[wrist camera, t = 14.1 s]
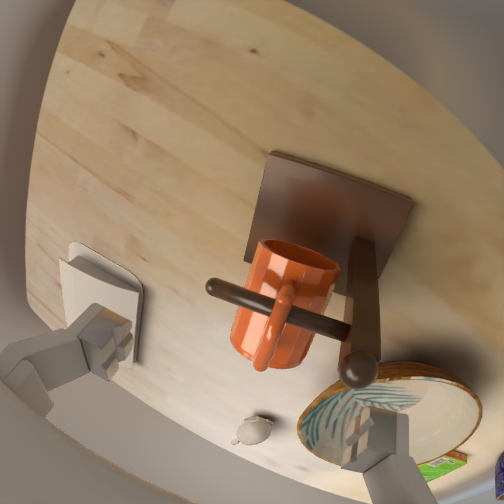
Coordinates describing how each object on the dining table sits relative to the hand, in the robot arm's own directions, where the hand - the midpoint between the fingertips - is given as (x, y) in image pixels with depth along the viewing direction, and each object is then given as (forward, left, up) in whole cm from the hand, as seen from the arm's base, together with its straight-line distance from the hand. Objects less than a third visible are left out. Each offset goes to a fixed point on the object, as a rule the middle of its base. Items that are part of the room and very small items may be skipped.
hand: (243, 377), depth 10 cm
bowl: (+25, +20, -24) cm, 40 cm away
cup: (+11, 0, -11) cm, 16 cm away
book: (+31, -27, -24) cm, 47 cm away
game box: (+49, +42, -24) cm, 69 cm away
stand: (+5, +2, -23) cm, 24 cm away
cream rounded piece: (+46, +4, -24) cm, 52 cm away
